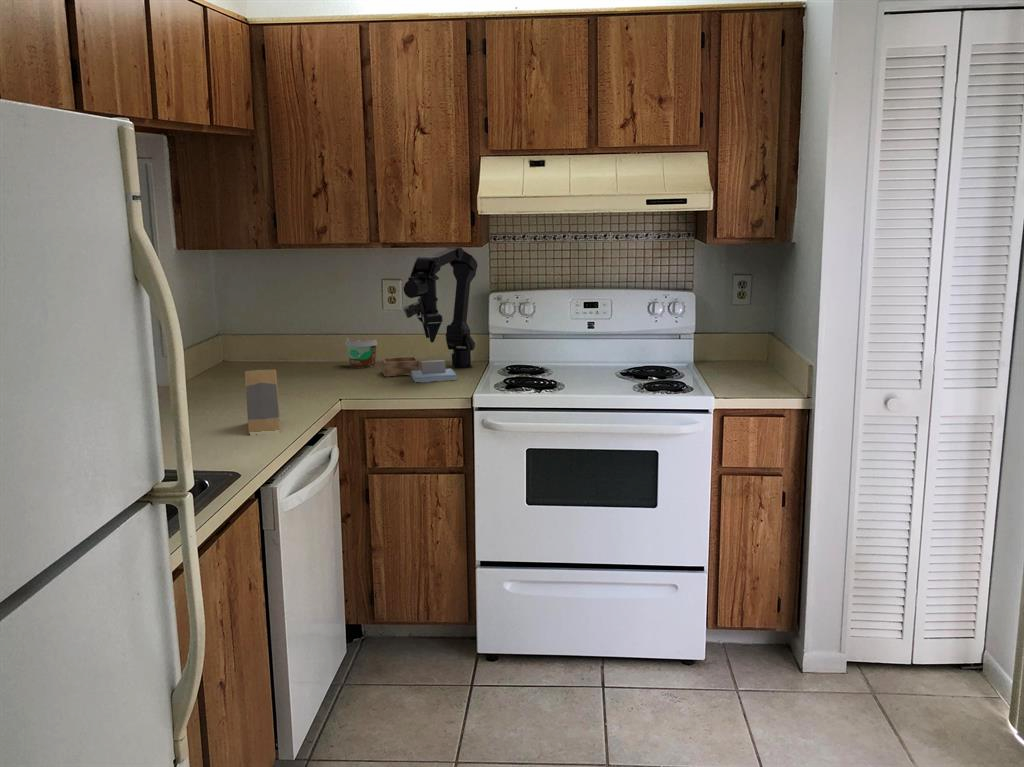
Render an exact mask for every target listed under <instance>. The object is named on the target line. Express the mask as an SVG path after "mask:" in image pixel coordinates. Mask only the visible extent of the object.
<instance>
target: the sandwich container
mask: <svg viewBox="0 0 1024 767" xmlns="http://www.w3.org/2000/svg"><path fill="white" fill-rule="evenodd" d="M277 377H278V376H277V369H275V368H274V369H255V370H254V369H253V370H246V371H244V379H245V380H244V382H245V383H244V384H245V399H246V401H245V402H246V414H247V427H248V428H247V429H248V433H249V432H261V431H275V430H280V431H281V416H280V404H279V403H280V402H279V391H278V390H279V389H278V379H277Z"/></svg>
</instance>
